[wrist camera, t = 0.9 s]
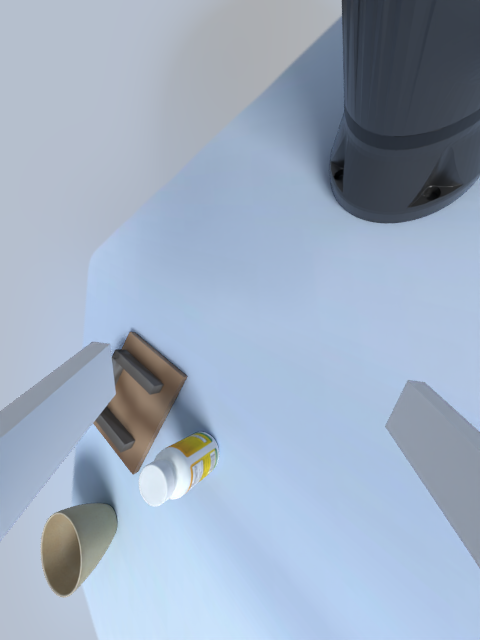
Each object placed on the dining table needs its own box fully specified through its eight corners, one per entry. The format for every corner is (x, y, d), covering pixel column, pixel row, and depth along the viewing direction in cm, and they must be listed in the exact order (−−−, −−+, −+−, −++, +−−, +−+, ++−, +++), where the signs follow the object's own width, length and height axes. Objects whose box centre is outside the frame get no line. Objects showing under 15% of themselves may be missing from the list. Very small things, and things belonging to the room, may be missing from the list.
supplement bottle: (227, 461, 31) (180, 504, 22) (199, 477, 33) (145, 523, 24) (209, 423, 33) (159, 449, 24) (183, 440, 34) (127, 470, 26)
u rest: (134, 332, 41) (119, 331, 39) (187, 376, 35) (174, 378, 33) (94, 416, 43) (77, 420, 40) (138, 471, 37) (121, 481, 34)
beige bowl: (128, 492, 38) (82, 521, 31) (127, 563, 36) (79, 609, 29) (89, 483, 42) (42, 507, 35) (87, 546, 40) (37, 584, 34)
